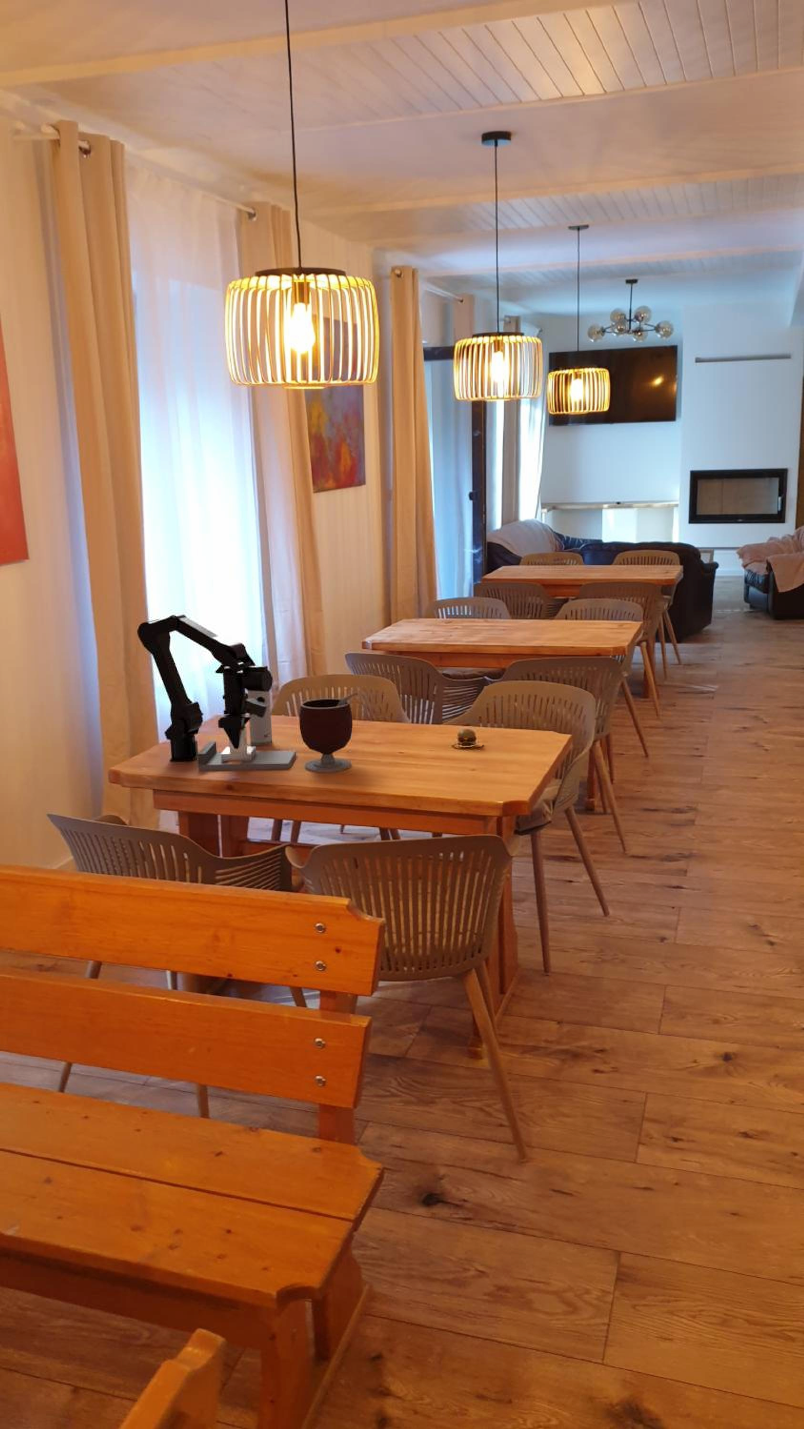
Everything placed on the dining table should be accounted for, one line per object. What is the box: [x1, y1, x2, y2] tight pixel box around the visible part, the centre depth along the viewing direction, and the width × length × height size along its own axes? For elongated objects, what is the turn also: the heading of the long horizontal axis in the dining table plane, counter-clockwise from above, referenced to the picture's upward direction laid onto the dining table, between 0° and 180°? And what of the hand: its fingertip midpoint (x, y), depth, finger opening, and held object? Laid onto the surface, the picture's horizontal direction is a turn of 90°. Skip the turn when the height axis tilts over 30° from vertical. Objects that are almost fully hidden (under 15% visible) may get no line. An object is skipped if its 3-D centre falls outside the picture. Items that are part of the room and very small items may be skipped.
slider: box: [221, 726, 257, 761], centre depth 306 cm, size 8×8×8 cm
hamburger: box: [456, 728, 478, 746], centre depth 318 cm, size 12×12×6 cm
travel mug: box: [246, 690, 273, 747], centre depth 327 cm, size 6×7×20 cm
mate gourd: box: [298, 691, 358, 773], centre depth 299 cm, size 16×14×20 cm
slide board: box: [197, 740, 297, 771], centre depth 307 cm, size 24×14×4 cm, turn 87°
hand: (238, 746), depth 306 cm, fingers closed on slider, 4 cm apart
